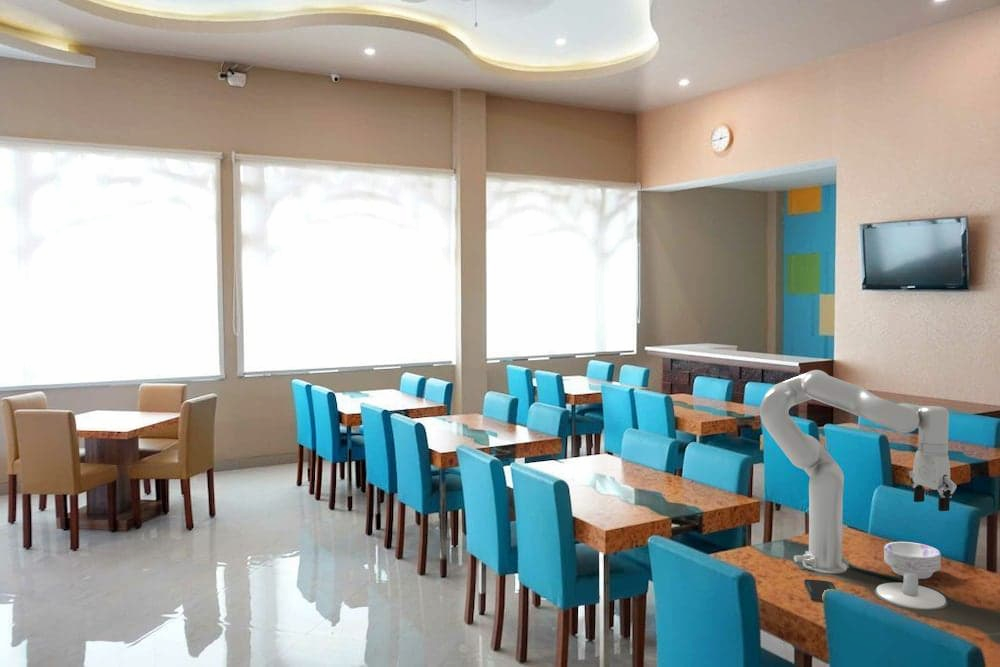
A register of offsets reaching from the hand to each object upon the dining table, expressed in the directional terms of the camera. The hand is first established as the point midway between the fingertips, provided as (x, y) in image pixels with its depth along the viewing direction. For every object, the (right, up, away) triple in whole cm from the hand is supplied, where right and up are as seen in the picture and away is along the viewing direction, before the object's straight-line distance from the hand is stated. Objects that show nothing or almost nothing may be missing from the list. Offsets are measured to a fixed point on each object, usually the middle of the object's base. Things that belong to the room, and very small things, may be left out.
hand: (931, 506), depth 223 cm
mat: (-12, -24, -11) cm, 28 cm away
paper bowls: (-1, -23, +8) cm, 24 cm away
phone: (-35, -24, -6) cm, 43 cm away
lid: (-12, -23, -11) cm, 28 cm away
